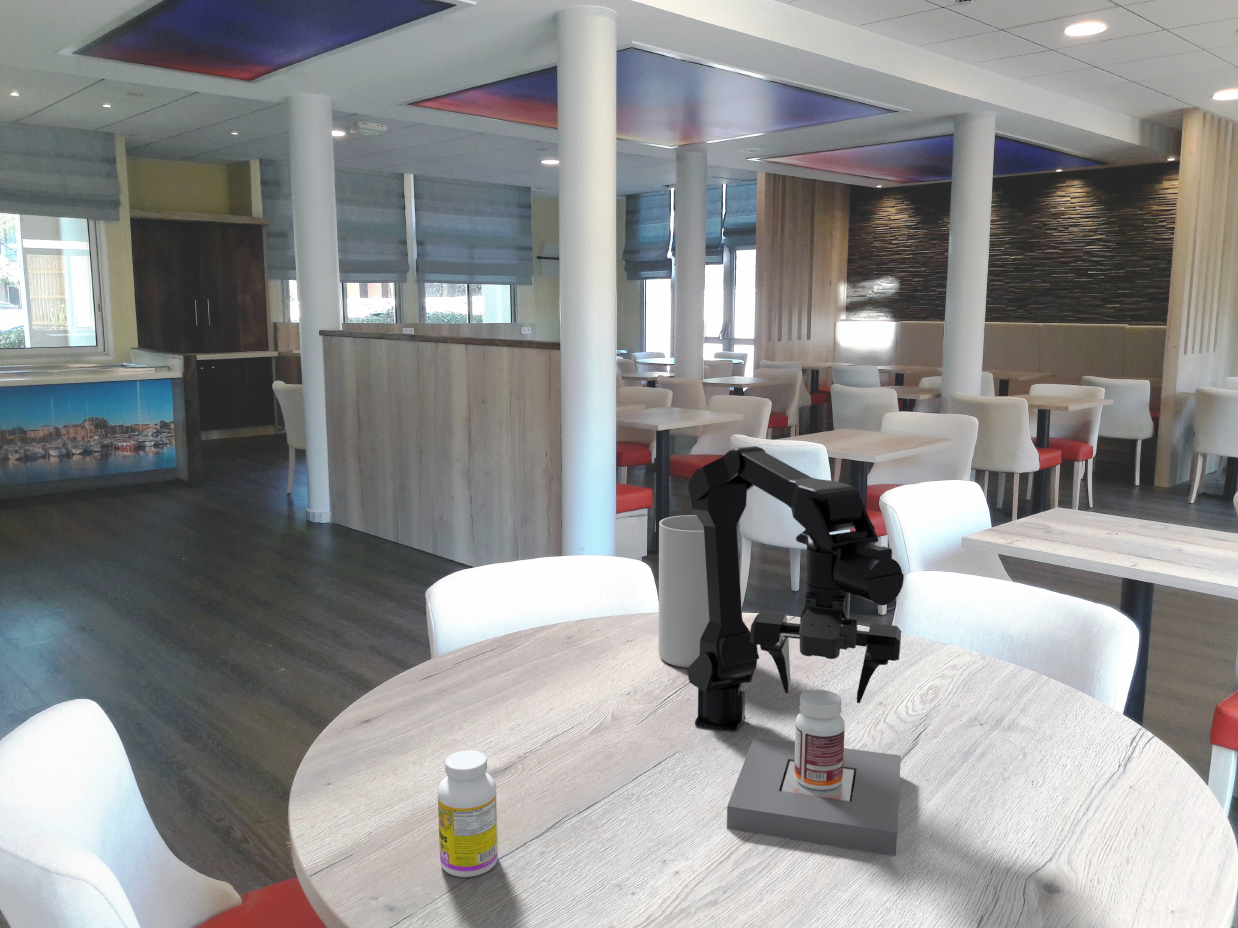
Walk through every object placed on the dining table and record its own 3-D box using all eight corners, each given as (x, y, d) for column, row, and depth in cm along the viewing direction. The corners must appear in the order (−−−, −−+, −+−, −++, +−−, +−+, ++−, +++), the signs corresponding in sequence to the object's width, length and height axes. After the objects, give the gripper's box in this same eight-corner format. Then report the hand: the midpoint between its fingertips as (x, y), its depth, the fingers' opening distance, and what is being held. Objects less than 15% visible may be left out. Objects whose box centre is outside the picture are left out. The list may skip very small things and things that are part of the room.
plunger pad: (780, 812, 122) (781, 790, 121) (789, 780, 129) (790, 760, 129) (848, 822, 119) (849, 801, 119) (853, 790, 127) (854, 769, 126)
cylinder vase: (733, 649, 178) (736, 518, 174) (718, 673, 167) (720, 533, 162) (669, 641, 182) (670, 513, 178) (649, 664, 171) (650, 528, 167)
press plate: (726, 828, 118) (727, 805, 117) (753, 755, 137) (754, 735, 136) (895, 855, 112) (897, 832, 111) (899, 775, 131) (900, 755, 130)
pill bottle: (852, 783, 123) (856, 700, 121) (817, 796, 120) (821, 711, 118) (818, 763, 128) (821, 683, 126) (783, 776, 125) (786, 694, 123)
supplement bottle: (443, 848, 114) (439, 746, 112) (499, 845, 114) (496, 744, 112) (437, 881, 107) (433, 774, 105) (497, 878, 108) (494, 772, 106)
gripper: (743, 593, 118) (740, 712, 121) (901, 610, 112) (893, 734, 115) (759, 569, 129) (756, 679, 131) (904, 583, 123) (897, 697, 126)
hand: (822, 697), depth 126 cm, fingers open, 9 cm apart
